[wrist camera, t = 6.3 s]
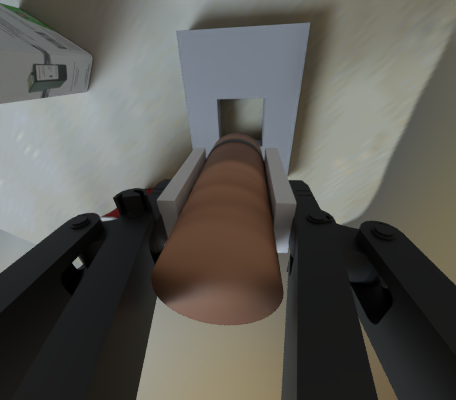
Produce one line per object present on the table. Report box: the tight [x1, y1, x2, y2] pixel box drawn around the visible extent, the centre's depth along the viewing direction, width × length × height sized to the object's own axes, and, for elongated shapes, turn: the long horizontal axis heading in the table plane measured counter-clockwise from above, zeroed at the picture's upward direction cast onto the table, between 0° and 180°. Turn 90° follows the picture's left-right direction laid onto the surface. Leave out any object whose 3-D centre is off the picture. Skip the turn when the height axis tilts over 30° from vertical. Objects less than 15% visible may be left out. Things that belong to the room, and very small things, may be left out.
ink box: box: [0, 3, 93, 104], centre depth 19 cm, size 9×5×12 cm, turn 58°
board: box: [176, 23, 310, 175], centre depth 25 cm, size 18×13×3 cm
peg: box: [151, 133, 283, 325], centre depth 11 cm, size 4×4×12 cm
